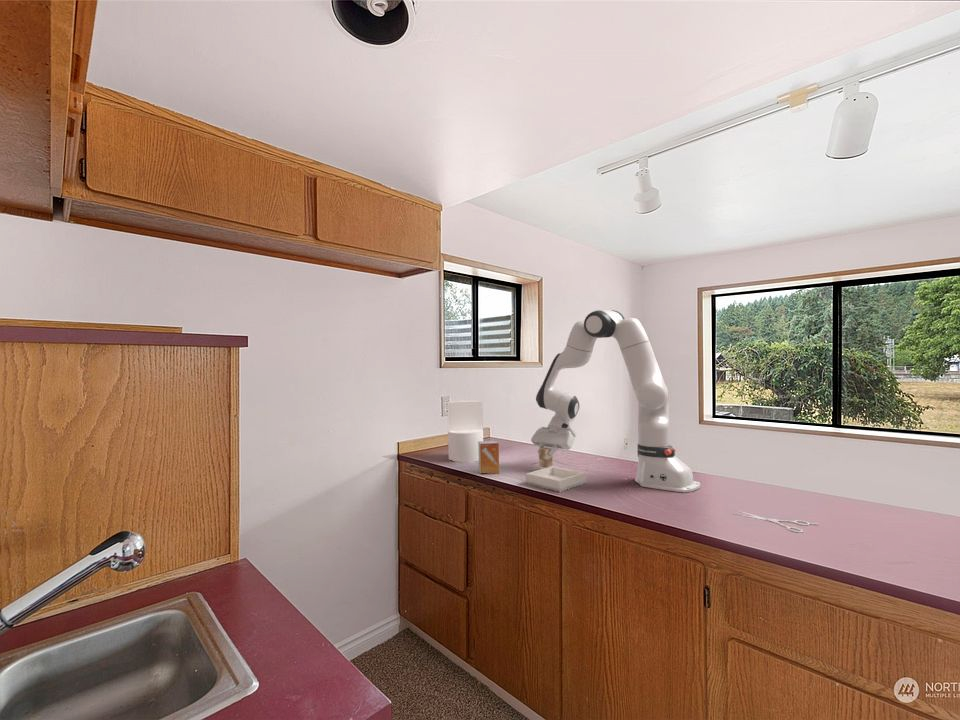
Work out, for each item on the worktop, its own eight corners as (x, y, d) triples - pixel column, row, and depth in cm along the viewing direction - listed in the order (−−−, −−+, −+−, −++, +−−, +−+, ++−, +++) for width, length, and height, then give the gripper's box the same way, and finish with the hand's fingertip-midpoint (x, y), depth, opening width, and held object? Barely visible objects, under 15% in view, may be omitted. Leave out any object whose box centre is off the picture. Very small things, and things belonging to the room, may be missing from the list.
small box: (480, 474, 185) (479, 443, 185) (478, 471, 191) (477, 441, 191) (499, 473, 186) (498, 442, 186) (497, 469, 192) (496, 440, 192)
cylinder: (448, 455, 224) (446, 400, 224) (481, 454, 226) (480, 399, 226) (449, 463, 207) (447, 403, 207) (485, 461, 209) (484, 402, 209)
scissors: (808, 534, 114) (725, 514, 129) (808, 537, 114) (725, 517, 129) (819, 523, 121) (739, 506, 136) (819, 526, 121) (739, 509, 136)
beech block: (552, 466, 188) (551, 448, 188) (546, 467, 186) (545, 450, 186) (545, 464, 191) (544, 447, 191) (539, 466, 189) (538, 448, 189)
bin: (585, 483, 168) (585, 472, 168) (559, 492, 157) (559, 481, 157) (552, 476, 179) (552, 466, 179) (526, 484, 169) (525, 473, 169)
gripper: (536, 422, 201) (522, 447, 194) (573, 425, 186) (559, 452, 179) (543, 431, 204) (530, 455, 197) (580, 434, 189) (567, 461, 182)
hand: (544, 454), depth 188 cm, fingers closed on beech block, 4 cm apart
